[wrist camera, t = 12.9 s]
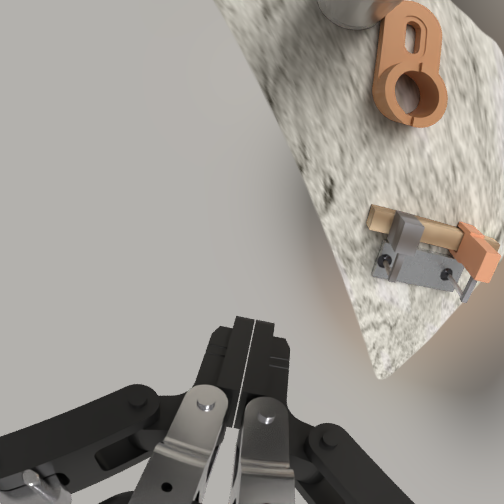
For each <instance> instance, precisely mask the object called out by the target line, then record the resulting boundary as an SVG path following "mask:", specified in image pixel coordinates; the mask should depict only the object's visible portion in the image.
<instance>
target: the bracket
mask: <svg viewBox="0 0 504 504" xmlns="http://www.w3.org/2000/svg"><path fill="white" fill-rule="evenodd" d="M407 24H409V25H411V26H412V27H413V28H414V29H415V31H416V35H415V46H414V52H413V54H412V53H409V52H408V51H407V50H406V48H405V35H406V25H407ZM441 45H442V30H441V27H440V24H439V22H438V20H437V18H436V17H435V16H434V14H433V13H432V12H431V11H430V10H429V9H427V8H426V7H424V6H423V5H421V4H419V3H416V2H413V1H402V2H401V3H400V4H399V5H397V6H396V7H395V8H394V9H393V10H391V11H390V12H389V13H388V14H387V15H386V16H385V17H383V18H382V19H381V22H380V31H379V40H378V49H377V57H376V65H375V72H374V79H373V86H372V94H373V99H374V102H375V104H376V106H377V108H378V109H379V111H380V112H381V113H382V114H383V115H384V116H385V117H387V118H388V119H390V120H392V121H396V122H399V123H403V124H406V125H410V126H413V127H418V128H423V127H428V126H431V125H433V124H435V123H436V122H438V121H439V120H440V119H441V117H442V116H443V114H444V112H445V110H446V107H447V100H448V97H447V90H446V86H445V84H444V82H443V80H442V78H441V77H440V75H439V74H438V73H439V64H440V55H441ZM402 74H405V75H407V76H409V77H410V78H412V79H413V80H414V81H415V83H416V84H417V86H418V88H419V92H420V101H419V104H418V106H417V108H416V109H415V110H414V111H412V112H411V113H408V114H405V112H404V111H403V110H402V109H401V107H400V106H399V104H398V102H397V100H396V97H395V85H396V82H397V80H398V78H399V77H400V76H401V75H402Z"/></svg>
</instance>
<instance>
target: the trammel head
mask: <svg viewBox="0 0 504 504" xmlns="http://www.w3.org/2000/svg"><path fill="white" fill-rule="evenodd" d="M458 227H459V228H460V229H461V230H462V231H463V232H464V236H463V238H462V241H461V243H460V246H459V248H458V251H455V250H451V249H449V252H450V253H451V254H452V255H453V257H454V258H455V259H456V260H457V262H458V263H461V264H463V266H464V267H465V268H466V270H467V271H468V272H469V273H470V275H471V277H470V279H469V281H468V283H467V285H466V287H465V289H464V291H463V292H462V290H461V289H460V287H459V286H458V284H457V283H456V281H455V280H454V278H453V277H452V275H451V274H449V275H448V276H447V278H448V279H449V281H450V282H451V284H452V285H453V287H454V288H455V290H456V291H457V293H458V294H459V296H460V300H461V302H465V303H466V302H467V301H468V299H469V297H470V295H471V293H472V291H473V289H474V287H475V285H476V283H477V281H482V282H486V283H489V282H490V280H491V278H492V275H493V273H494V271H495V269H496V267H497V265H498V262H499V260H500V258H501V255H500V254H499V253H498V252H497V251H496V250H495V249H494V248H493V247H492V246H491V245H490V244H489V243H488V242H487V241H486V240H485V239H484V238H485V236H484V235H483V234H482V233H481V232H479V231H478V230H477V229H476V228H475V227H474V226H472V225H469V224H466V223H463V222H459V224H458Z"/></svg>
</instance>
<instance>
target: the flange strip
mask: <svg viewBox="0 0 504 504" xmlns="http://www.w3.org/2000/svg"><path fill="white" fill-rule="evenodd" d="M396 255H397V253H395V252H394V250H393V248H392V247H391V245H390V243H389V241H386V240H383V243H382V246H381V249H380V251H379V254H378V257H377V260H376V263H375V265H374V268H373V271H372V276H373V277H378V278H383V279H388V274H387V272H386V269H385V267H384V265H383V261H385V260H386V261H388V263H389V266H390V268H392V266H393V263H394V261H395V258H396ZM463 269H464V266H463V264H461V263H458V262H457V260H456V259H455V258H454V257H453V256H449V255H445V254H441V253H437V252H433V251H429V250H425V249H421V248H417V250H416V253H415V256H414V257H412V256H408V255H406V256H405V259H404V261H403V264H402V266H401V269H400V271H399V274H398V276H397V279H396V281H399V282H404V283H409V284H414V285H419V286H424V287H429V288H434V289H440V290H445V291H450V292H453V291H454V289H455V288H454V287H453V285H452V284H451V282H450V281H449V279H448V278H447V276H448V275H449V274H451V275H452V277H453V278H454V280H455V281H456V283H457V282H458V280H459V278H460V276H461V274H462V272H463Z"/></svg>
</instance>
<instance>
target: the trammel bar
mask: <svg viewBox="0 0 504 504" xmlns="http://www.w3.org/2000/svg"><path fill="white" fill-rule="evenodd" d="M366 224H367V226H368V228H369V230H373V231H378V232H382V233H386V234H388V237H387V239H388V241H389V243H390V245H391V247H392V248H393V250H394V252H395V253H397V255H396V258H395V261H394V263H393V266H392V268H390V266H389V263H388V261H386V260H385V261H383V265H384V267H385V269H386V272H387V274H388V281H389V282H395V281H396V279H397V276H398V274H399V271H400V269H401V266H402V264H403V261H404V259H405V256H406V255H408V256H412V257H414V256H415V253H416V250H417V248H418V245H419V242H424V243H428V244H432V245H435V246H439V247H443V248H447V249H451V250H455V251H458V248H459V246H460V243H461V241H462V238H463V236H464V232H463V231H462V230H461V229H460V228H458V227H454V226H451V225H448V224H444V223H441V222H437V221H434V220H430V219H426V218H423V217H419V216H415V215H412V214H408V213H405V212H401V211H397V210H393V209H389V208H385V207H381V206H377V205H373V204H372V205H371V208H370V212H369V215H368V219H367V222H366ZM484 239H485V240H486V241H487V242H488V243H489V244H490V245H491V246H492V247H493V248H494V249H495V250H496V251H498V249H499V247H500V244H499V243H497V242H496V241H495V240H494V239H493V238H490V237H487V236H485V238H484Z"/></svg>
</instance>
